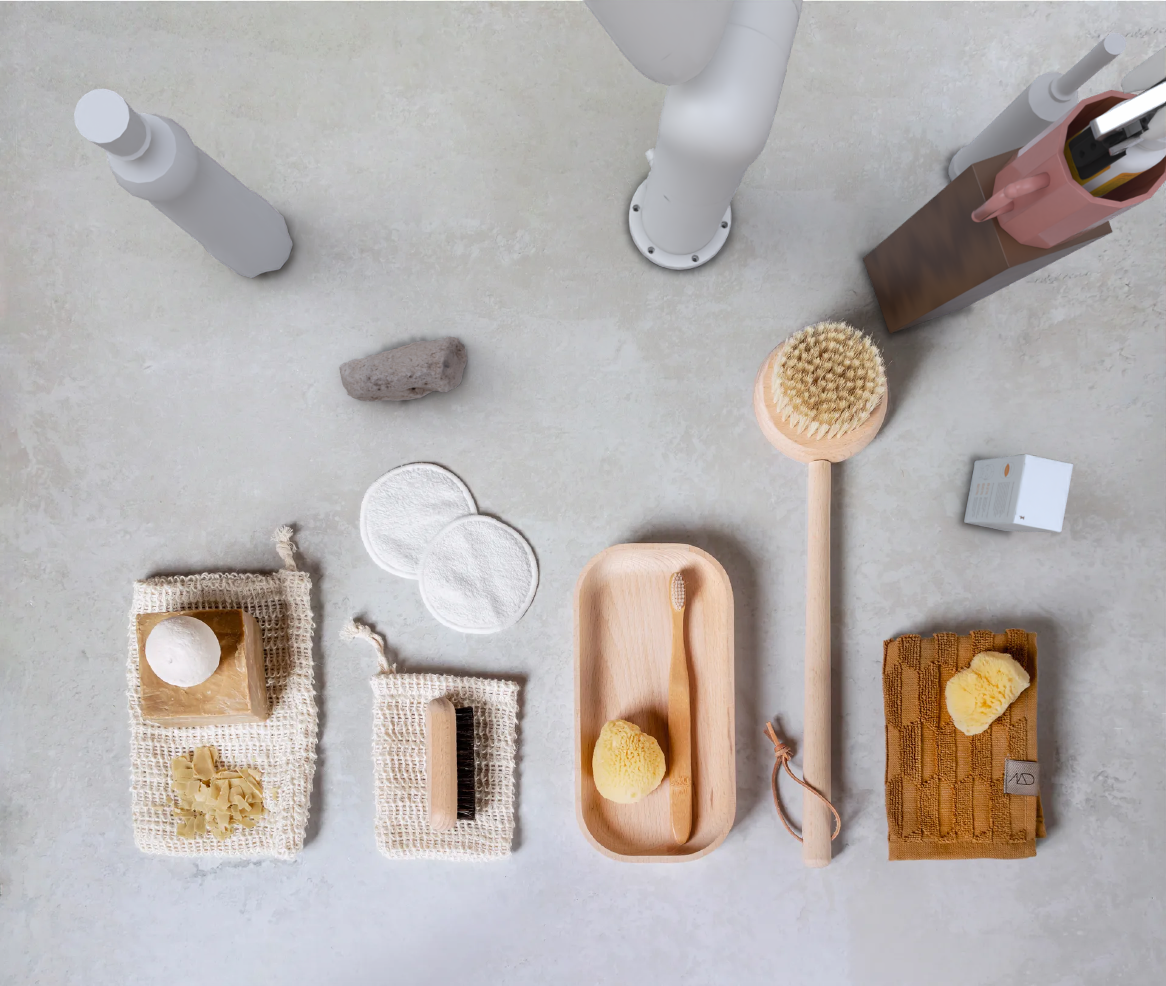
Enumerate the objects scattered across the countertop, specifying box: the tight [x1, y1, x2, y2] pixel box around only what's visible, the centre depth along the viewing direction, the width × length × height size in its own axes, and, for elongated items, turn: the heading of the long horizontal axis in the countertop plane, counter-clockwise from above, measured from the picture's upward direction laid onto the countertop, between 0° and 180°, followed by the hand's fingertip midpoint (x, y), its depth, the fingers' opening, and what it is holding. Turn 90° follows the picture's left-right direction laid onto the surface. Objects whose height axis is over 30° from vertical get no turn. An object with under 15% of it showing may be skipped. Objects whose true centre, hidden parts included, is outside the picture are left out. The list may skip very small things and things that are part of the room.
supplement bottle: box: [1063, 99, 1166, 198], centre depth 56 cm, size 5×5×10 cm
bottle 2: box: [947, 32, 1127, 182], centre depth 78 cm, size 5×5×25 cm
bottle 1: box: [73, 88, 294, 279], centre depth 75 cm, size 9×9×30 cm
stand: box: [862, 146, 1113, 334], centre depth 78 cm, size 10×10×25 cm
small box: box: [963, 453, 1075, 534], centre depth 85 cm, size 8×6×10 cm
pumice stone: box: [339, 336, 468, 402], centre depth 85 cm, size 15×8×10 cm, turn 95°
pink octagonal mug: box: [971, 89, 1166, 249], centre depth 61 cm, size 9×12×9 cm
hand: (1116, 146), depth 56 cm, fingers closed on supplement bottle, 5 cm apart
